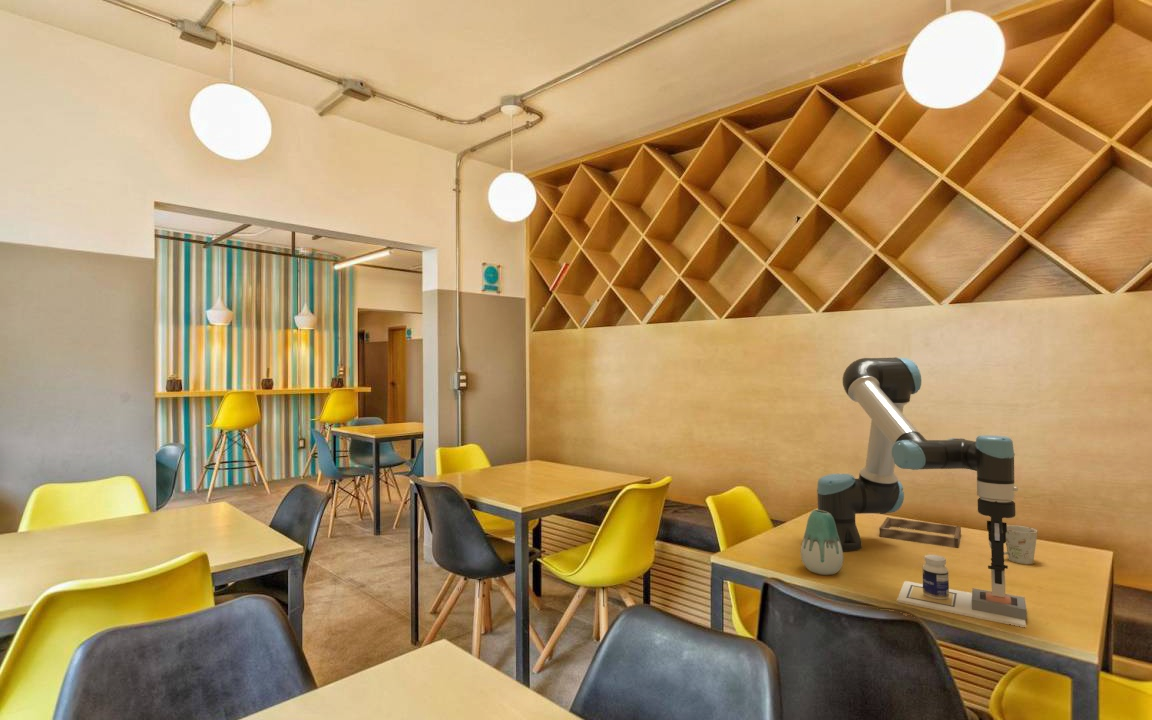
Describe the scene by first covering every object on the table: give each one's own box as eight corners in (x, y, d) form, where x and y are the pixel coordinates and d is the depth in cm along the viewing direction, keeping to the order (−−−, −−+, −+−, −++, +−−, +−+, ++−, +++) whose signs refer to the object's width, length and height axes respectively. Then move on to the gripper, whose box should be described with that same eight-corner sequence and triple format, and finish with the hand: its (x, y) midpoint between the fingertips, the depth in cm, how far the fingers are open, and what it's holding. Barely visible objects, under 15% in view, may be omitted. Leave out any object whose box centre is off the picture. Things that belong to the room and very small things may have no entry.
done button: (985, 609, 140) (985, 597, 140) (986, 602, 144) (985, 590, 145) (1011, 614, 137) (1011, 601, 138) (1011, 607, 142) (1010, 595, 142)
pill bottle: (917, 592, 151) (917, 554, 151) (938, 591, 152) (937, 553, 152) (933, 600, 146) (932, 561, 146) (954, 599, 146) (953, 560, 146)
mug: (1044, 566, 172) (1043, 533, 172) (997, 564, 175) (996, 531, 175) (1028, 557, 180) (1027, 525, 180) (983, 555, 183) (982, 523, 183)
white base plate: (897, 601, 147) (896, 590, 147) (904, 583, 160) (904, 572, 160) (1027, 628, 131) (1027, 615, 131) (1024, 604, 144) (1024, 592, 144)
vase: (841, 567, 173) (840, 507, 174) (845, 580, 162) (844, 516, 163) (800, 563, 177) (799, 504, 177) (801, 575, 166) (800, 513, 166)
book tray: (879, 536, 204) (879, 528, 204) (887, 525, 219) (887, 517, 219) (958, 548, 191) (958, 538, 191) (960, 535, 205) (960, 526, 206)
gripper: (1016, 505, 134) (1018, 608, 133) (1014, 496, 145) (1016, 590, 144) (976, 501, 138) (979, 600, 138) (977, 492, 149) (980, 584, 148)
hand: (998, 595), depth 141 cm, fingers closed
